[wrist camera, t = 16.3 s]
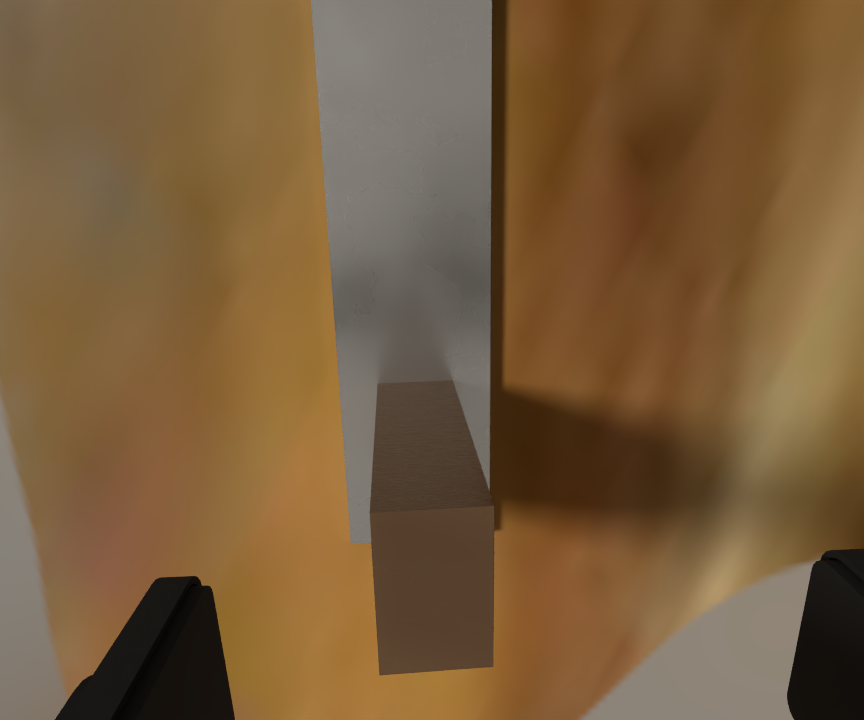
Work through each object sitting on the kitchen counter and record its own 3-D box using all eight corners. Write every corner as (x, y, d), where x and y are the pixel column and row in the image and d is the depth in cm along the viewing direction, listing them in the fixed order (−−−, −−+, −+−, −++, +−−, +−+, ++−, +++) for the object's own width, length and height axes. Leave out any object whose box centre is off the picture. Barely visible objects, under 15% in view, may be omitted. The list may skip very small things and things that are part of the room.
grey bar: (487, -244, 15) (607, -767, 7) (485, 523, 22) (546, 732, 13) (296, -247, 15) (177, -799, 7) (352, 531, 22) (328, 750, 13)
